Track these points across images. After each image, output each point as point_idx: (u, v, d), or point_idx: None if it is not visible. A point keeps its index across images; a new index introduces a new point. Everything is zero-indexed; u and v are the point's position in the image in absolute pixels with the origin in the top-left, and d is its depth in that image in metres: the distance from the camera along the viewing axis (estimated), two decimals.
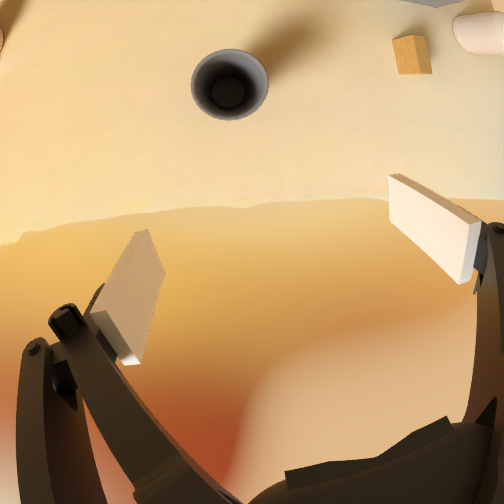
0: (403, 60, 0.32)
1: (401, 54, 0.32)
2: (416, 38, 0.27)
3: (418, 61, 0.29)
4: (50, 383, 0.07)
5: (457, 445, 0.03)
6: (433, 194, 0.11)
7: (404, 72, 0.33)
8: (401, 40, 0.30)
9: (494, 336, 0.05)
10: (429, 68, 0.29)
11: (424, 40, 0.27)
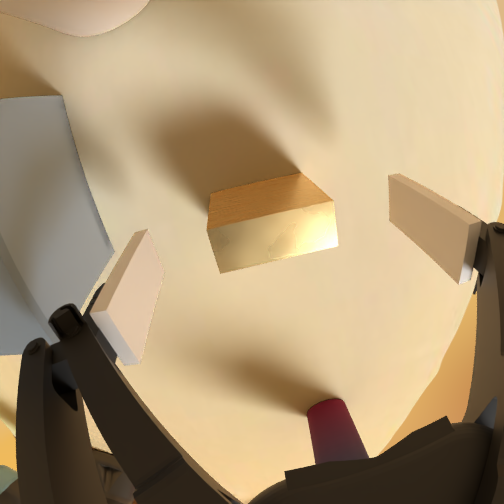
0: None
1: None
2: (227, 261, 0.14)
3: (301, 252, 0.14)
4: (50, 383, 0.07)
5: (457, 445, 0.03)
6: (433, 194, 0.11)
7: None
8: None
9: (494, 336, 0.05)
10: (317, 212, 0.13)
11: (222, 232, 0.13)
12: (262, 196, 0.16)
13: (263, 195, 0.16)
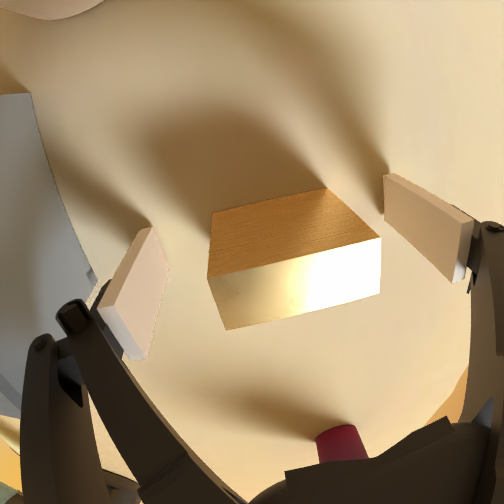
0: None
1: None
2: (236, 316, 0.10)
3: (334, 303, 0.10)
4: (56, 379, 0.07)
5: (457, 445, 0.03)
6: (427, 193, 0.11)
7: None
8: None
9: (489, 336, 0.05)
10: (359, 253, 0.10)
11: (229, 281, 0.10)
12: (282, 223, 0.12)
13: (282, 221, 0.12)
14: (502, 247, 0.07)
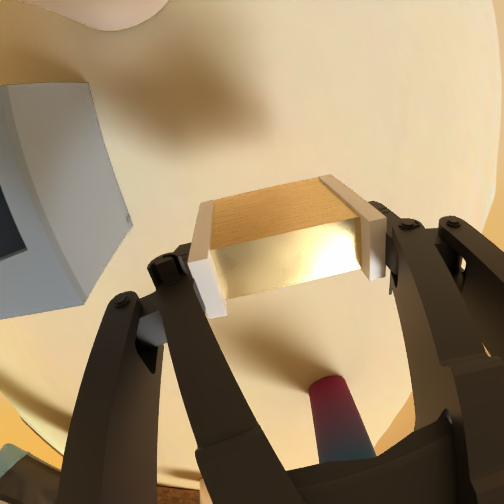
0: None
1: None
2: (233, 285, 0.12)
3: (321, 276, 0.12)
4: (133, 342, 0.08)
5: None
6: (350, 193, 0.13)
7: None
8: None
9: (427, 343, 0.06)
10: (341, 229, 0.11)
11: (227, 253, 0.11)
12: (275, 207, 0.13)
13: (275, 205, 0.14)
14: (421, 244, 0.08)
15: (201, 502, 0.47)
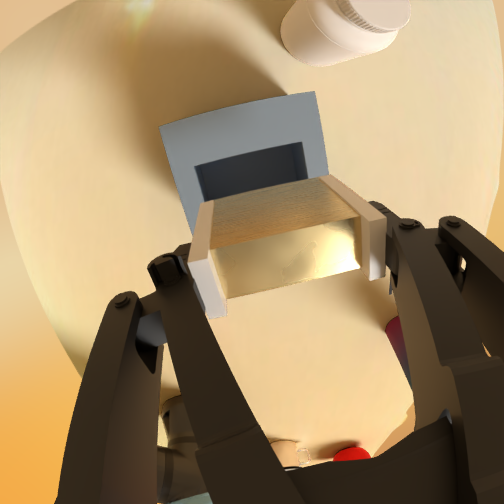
0: None
1: None
2: (233, 285, 0.12)
3: (321, 275, 0.12)
4: (133, 342, 0.08)
5: None
6: (350, 193, 0.13)
7: None
8: None
9: (427, 342, 0.06)
10: (342, 229, 0.11)
11: (227, 253, 0.11)
12: (275, 206, 0.13)
13: (275, 204, 0.14)
14: (421, 244, 0.08)
15: None
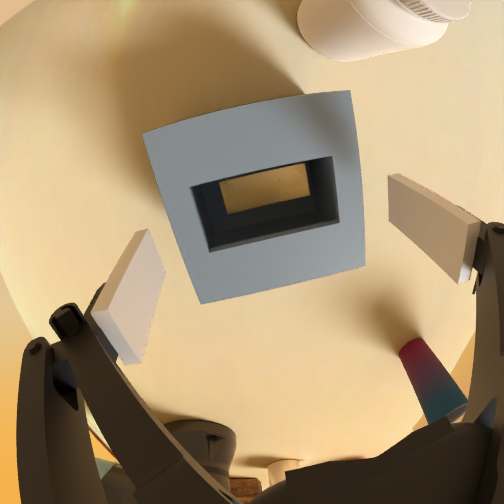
0: None
1: None
2: (233, 204, 0.20)
3: (284, 199, 0.20)
4: (51, 383, 0.07)
5: (457, 445, 0.03)
6: (432, 194, 0.11)
7: None
8: None
9: (493, 336, 0.05)
10: (293, 170, 0.20)
11: (229, 184, 0.20)
12: None
13: None
14: None
15: None
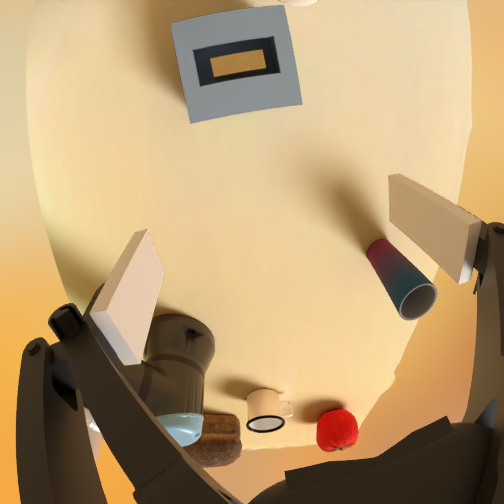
0: (245, 73, 0.32)
1: (237, 75, 0.32)
2: (217, 71, 0.28)
3: (249, 69, 0.28)
4: (50, 383, 0.07)
5: (457, 445, 0.03)
6: (433, 194, 0.11)
7: (260, 71, 0.32)
8: (219, 78, 0.31)
9: (494, 336, 0.05)
10: (255, 53, 0.27)
11: (216, 59, 0.27)
12: None
13: None
14: None
15: (251, 415, 0.62)
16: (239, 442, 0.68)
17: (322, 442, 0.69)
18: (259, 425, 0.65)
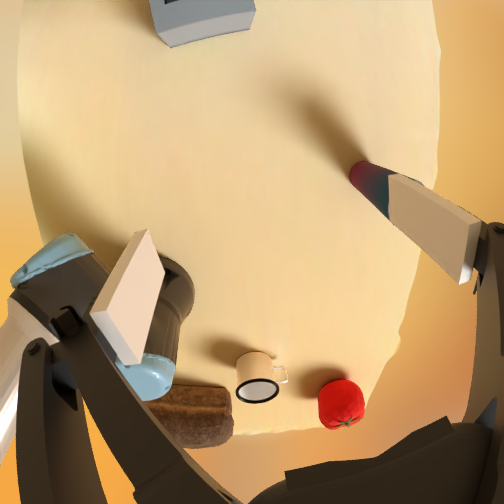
0: None
1: None
2: None
3: None
4: (50, 383, 0.07)
5: (457, 445, 0.03)
6: (433, 194, 0.11)
7: None
8: None
9: (494, 336, 0.05)
10: None
11: None
12: None
13: None
14: None
15: (240, 381, 0.58)
16: (230, 417, 0.63)
17: (325, 417, 0.65)
18: (251, 395, 0.61)
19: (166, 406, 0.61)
